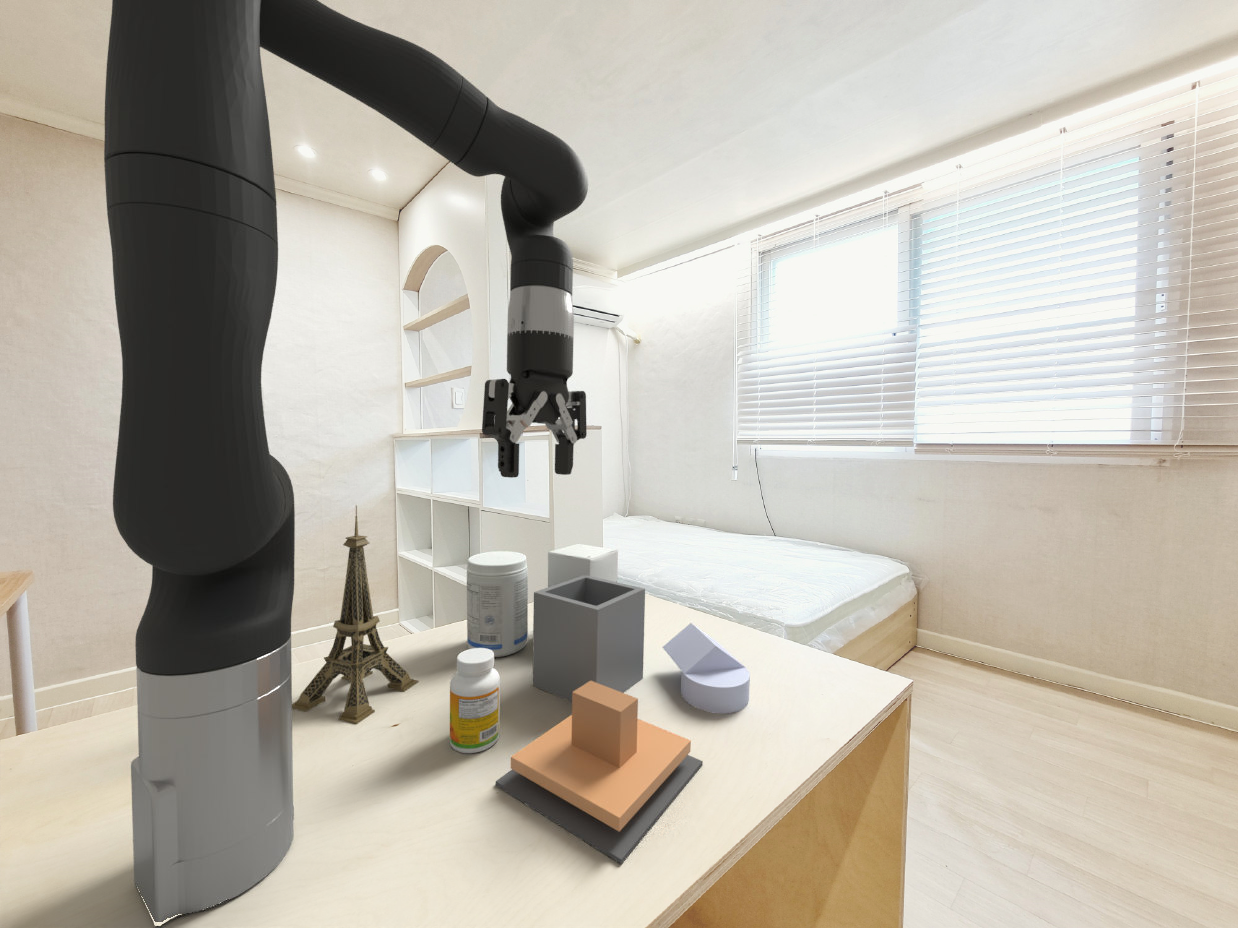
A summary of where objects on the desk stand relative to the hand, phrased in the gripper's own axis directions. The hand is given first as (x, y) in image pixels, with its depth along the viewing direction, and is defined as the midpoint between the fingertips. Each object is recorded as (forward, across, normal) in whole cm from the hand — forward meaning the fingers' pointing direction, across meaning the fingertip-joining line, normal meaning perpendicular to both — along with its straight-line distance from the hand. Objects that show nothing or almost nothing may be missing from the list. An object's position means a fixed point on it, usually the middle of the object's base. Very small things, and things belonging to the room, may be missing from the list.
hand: (538, 475), depth 57 cm
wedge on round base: (+30, +21, -13) cm, 39 cm away
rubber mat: (+30, -2, -12) cm, 32 cm away
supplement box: (+30, +24, +12) cm, 40 cm away
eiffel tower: (+30, -10, +23) cm, 39 cm away
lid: (+29, -2, -12) cm, 32 cm away
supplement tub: (+30, +11, +20) cm, 38 cm away
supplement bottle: (+30, -6, +3) cm, 31 cm away
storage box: (+30, +12, +1) cm, 32 cm away
